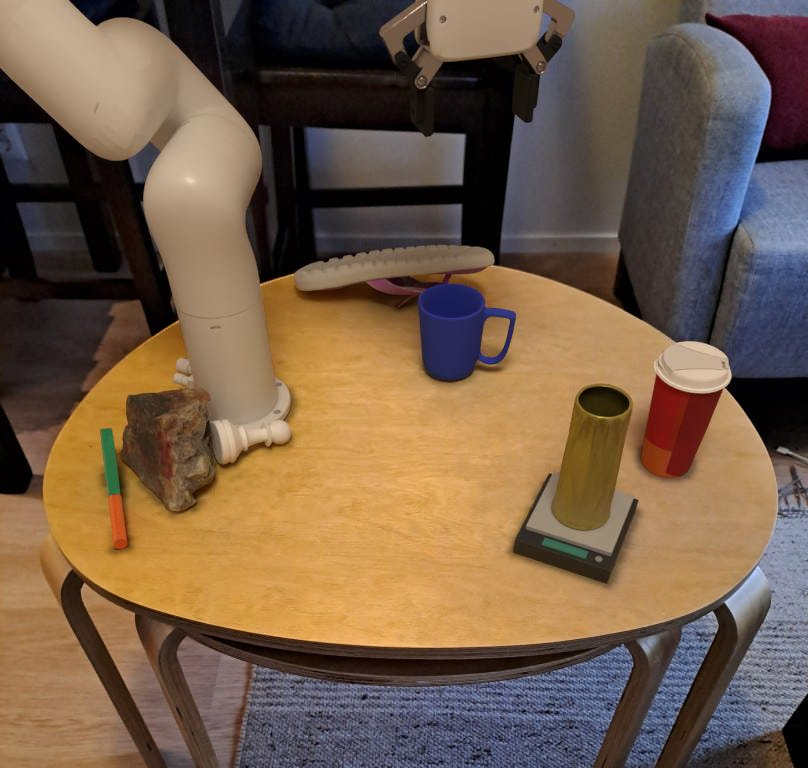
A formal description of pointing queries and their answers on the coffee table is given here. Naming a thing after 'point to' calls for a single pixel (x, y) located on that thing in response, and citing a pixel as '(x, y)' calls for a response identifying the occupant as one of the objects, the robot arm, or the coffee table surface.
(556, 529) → the scale
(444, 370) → the mug
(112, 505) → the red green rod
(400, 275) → the sandal
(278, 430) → the chess pawn
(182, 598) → the coffee table surface
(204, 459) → the rock
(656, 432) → the paper cup
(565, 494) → the vase
